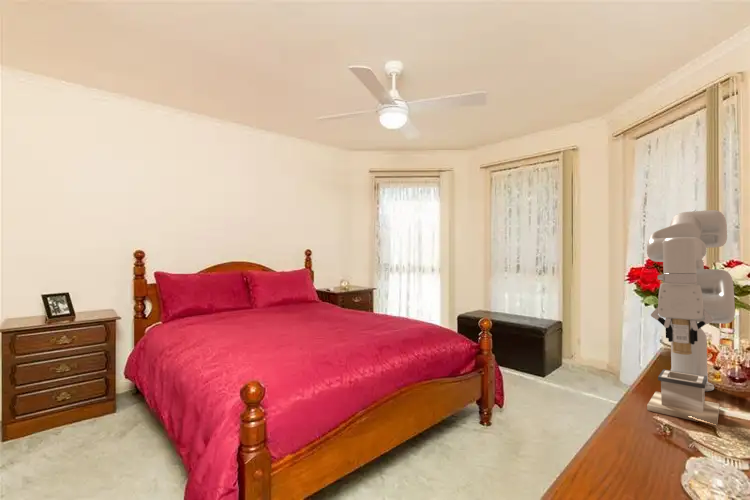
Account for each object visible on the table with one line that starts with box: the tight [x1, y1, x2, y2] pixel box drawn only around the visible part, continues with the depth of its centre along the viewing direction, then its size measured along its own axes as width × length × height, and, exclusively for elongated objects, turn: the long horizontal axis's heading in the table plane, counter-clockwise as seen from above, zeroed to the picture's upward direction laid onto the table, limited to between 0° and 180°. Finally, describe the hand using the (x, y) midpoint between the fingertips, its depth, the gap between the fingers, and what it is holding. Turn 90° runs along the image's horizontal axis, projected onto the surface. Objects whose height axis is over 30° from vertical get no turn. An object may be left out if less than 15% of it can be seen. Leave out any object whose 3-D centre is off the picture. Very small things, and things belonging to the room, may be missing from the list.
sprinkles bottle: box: [671, 318, 692, 355], centre depth 110 cm, size 5×5×13 cm
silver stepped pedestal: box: [646, 369, 720, 426], centre depth 110 cm, size 15×15×10 cm
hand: (681, 341), depth 110 cm, fingers closed on sprinkles bottle, 4 cm apart
